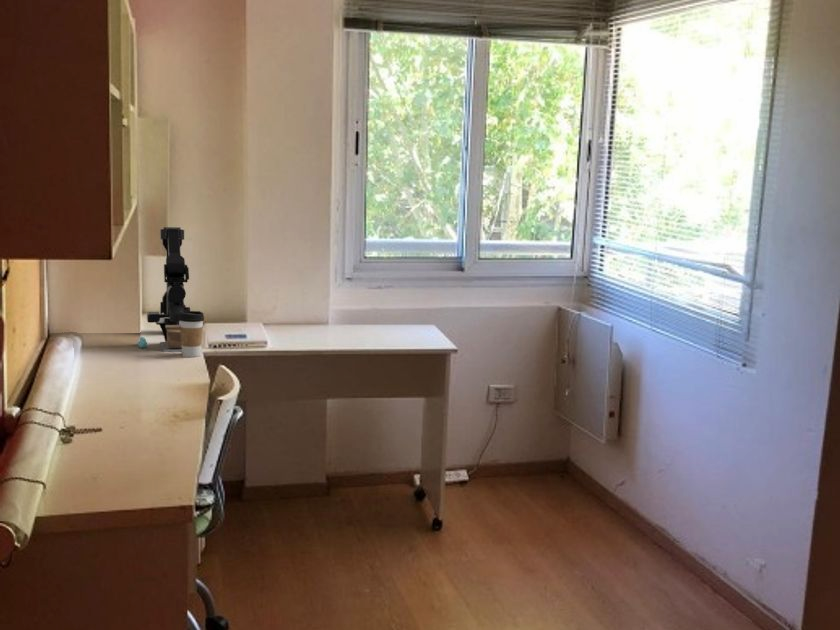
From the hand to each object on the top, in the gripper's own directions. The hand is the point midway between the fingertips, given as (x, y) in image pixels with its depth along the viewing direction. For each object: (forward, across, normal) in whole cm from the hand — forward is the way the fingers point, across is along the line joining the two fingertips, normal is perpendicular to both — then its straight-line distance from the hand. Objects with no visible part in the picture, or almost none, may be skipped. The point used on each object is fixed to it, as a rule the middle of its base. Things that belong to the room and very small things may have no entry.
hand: (175, 340), depth 317 cm
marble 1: (+2, -11, +4) cm, 12 cm away
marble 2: (+2, -11, 0) cm, 11 cm away
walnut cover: (+1, 0, 0) cm, 1 cm away
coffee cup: (+2, +4, -13) cm, 14 cm away
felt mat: (+2, 0, 0) cm, 2 cm away
